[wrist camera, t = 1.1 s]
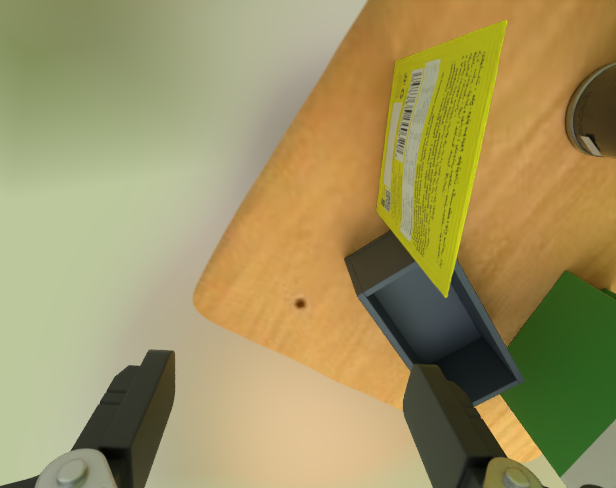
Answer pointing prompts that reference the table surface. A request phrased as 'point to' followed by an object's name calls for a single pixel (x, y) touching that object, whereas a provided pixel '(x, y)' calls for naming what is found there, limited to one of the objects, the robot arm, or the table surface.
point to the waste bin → (432, 319)
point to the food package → (437, 145)
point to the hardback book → (570, 381)
